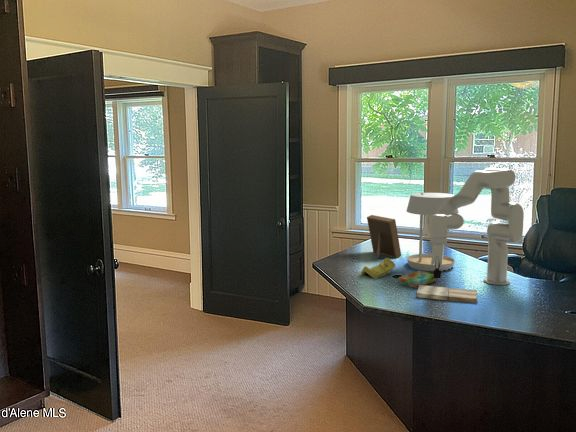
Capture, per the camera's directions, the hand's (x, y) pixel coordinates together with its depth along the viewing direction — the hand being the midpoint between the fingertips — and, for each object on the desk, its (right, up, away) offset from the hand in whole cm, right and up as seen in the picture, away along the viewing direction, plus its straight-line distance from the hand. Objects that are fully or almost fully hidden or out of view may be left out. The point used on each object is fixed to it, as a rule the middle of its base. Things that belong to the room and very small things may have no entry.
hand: (437, 277), depth 250 cm
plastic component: (-21, -3, +41) cm, 46 cm away
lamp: (+12, 0, +57) cm, 58 cm away
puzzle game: (-3, -6, +23) cm, 24 cm away
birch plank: (-2, -8, +2) cm, 9 cm away
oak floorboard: (+11, -9, -2) cm, 15 cm away
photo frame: (-12, +4, +84) cm, 85 cm away
